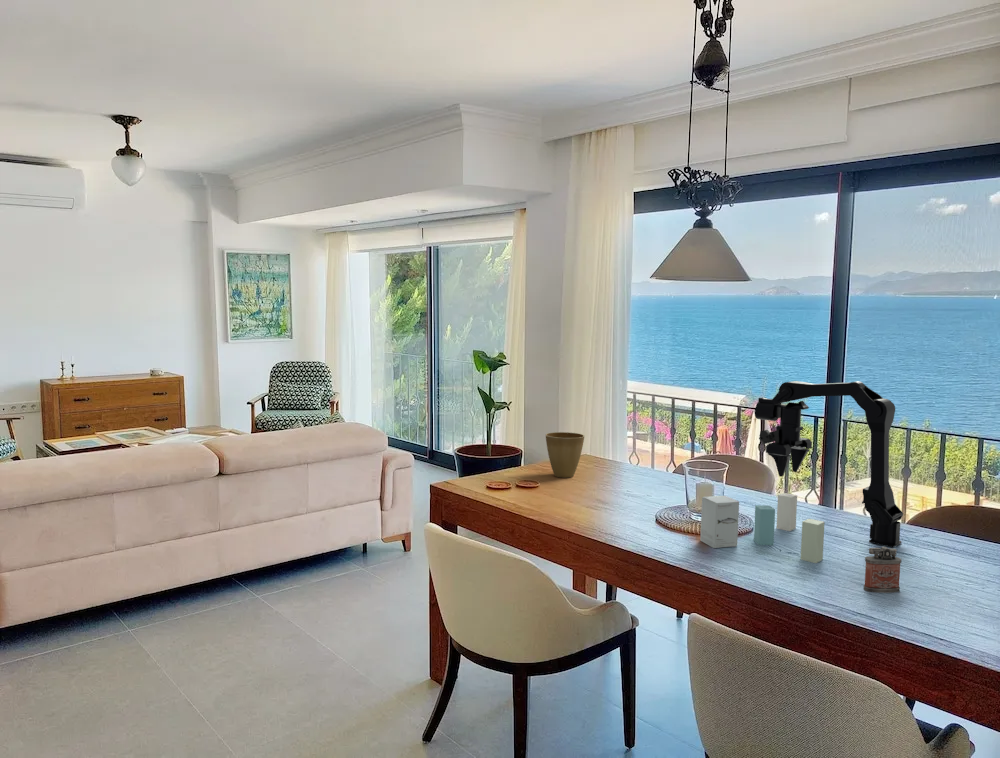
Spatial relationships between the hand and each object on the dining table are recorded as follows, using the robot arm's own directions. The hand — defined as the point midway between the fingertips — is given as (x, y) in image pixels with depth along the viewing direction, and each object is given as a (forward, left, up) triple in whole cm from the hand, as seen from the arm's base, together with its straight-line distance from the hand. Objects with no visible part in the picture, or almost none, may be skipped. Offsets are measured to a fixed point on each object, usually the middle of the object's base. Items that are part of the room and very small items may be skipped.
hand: (787, 474), depth 224 cm
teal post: (-5, +25, -15) cm, 30 cm away
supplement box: (+3, +35, -15) cm, 38 cm away
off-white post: (-3, +7, -15) cm, 17 cm away
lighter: (-40, +38, -15) cm, 57 cm away
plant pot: (+87, +3, -15) cm, 88 cm away
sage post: (-20, +29, -15) cm, 38 cm away
